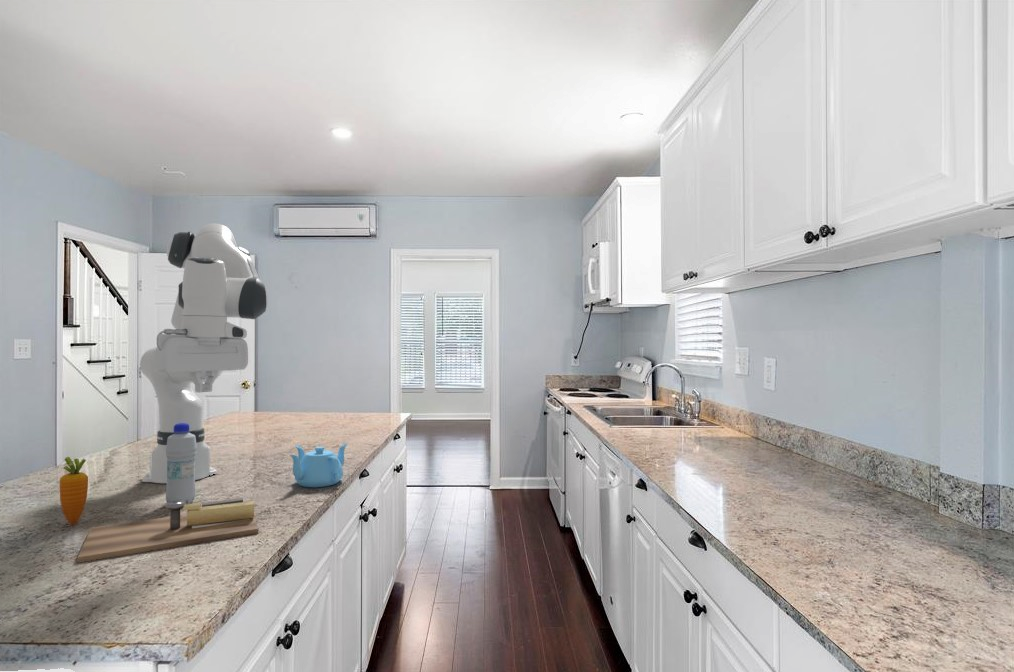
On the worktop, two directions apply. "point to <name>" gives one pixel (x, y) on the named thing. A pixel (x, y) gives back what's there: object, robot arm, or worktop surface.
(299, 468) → the teapot
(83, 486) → the carrot
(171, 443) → the bottle
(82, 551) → the latch board
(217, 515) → the swing bar
